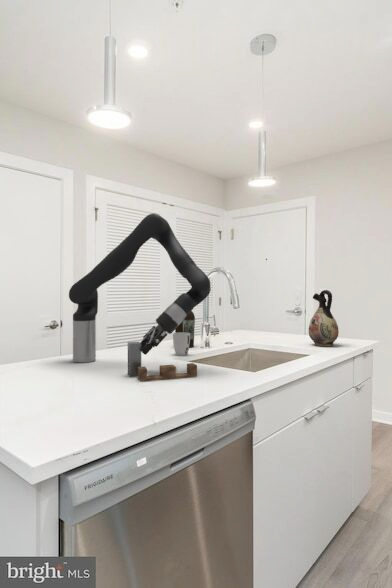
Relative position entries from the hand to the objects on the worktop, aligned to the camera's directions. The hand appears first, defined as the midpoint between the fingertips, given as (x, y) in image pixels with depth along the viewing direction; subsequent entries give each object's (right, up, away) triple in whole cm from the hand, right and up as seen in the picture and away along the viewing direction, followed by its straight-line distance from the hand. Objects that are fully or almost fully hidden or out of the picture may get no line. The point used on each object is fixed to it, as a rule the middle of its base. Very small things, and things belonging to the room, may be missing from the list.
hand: (140, 351), depth 136 cm
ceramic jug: (+89, -8, +69) cm, 113 cm away
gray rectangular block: (-2, -8, -1) cm, 9 cm away
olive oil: (+14, -8, +64) cm, 66 cm away
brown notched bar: (+10, -8, -5) cm, 14 cm away
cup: (+13, -8, +41) cm, 44 cm away
